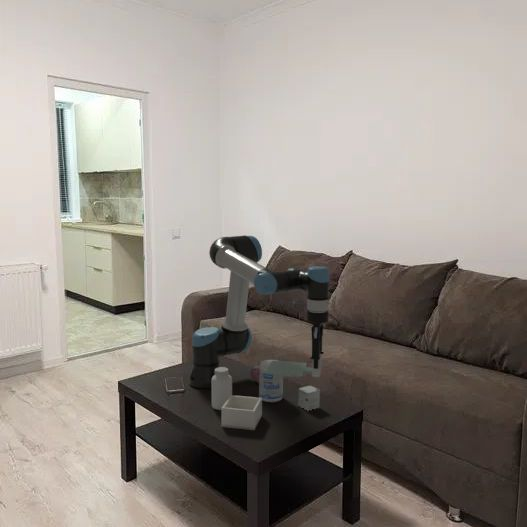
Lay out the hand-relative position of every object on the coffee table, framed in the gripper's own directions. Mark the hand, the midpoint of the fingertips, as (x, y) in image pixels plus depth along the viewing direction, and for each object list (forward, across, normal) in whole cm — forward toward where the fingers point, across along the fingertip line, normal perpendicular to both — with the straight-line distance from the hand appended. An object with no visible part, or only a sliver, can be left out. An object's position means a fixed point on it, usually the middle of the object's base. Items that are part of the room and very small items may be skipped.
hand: (316, 374), depth 186 cm
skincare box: (+18, +12, +4) cm, 22 cm away
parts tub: (+18, -6, +26) cm, 32 cm away
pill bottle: (+18, +5, +37) cm, 42 cm away
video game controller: (+18, +36, +29) cm, 50 cm away
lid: (0, 0, +8) cm, 8 cm away
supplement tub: (+18, +17, +20) cm, 32 cm away
